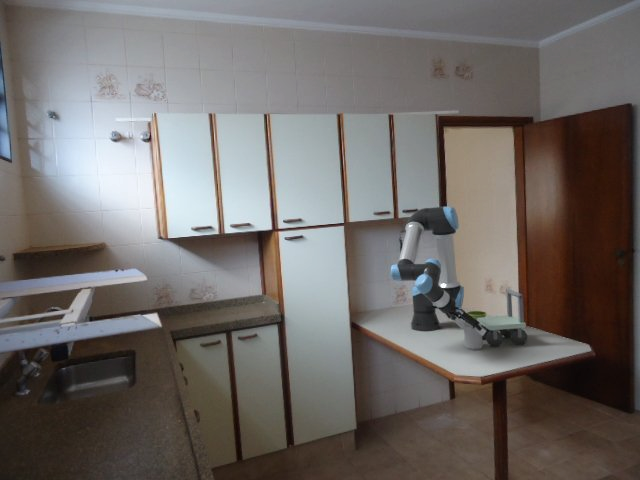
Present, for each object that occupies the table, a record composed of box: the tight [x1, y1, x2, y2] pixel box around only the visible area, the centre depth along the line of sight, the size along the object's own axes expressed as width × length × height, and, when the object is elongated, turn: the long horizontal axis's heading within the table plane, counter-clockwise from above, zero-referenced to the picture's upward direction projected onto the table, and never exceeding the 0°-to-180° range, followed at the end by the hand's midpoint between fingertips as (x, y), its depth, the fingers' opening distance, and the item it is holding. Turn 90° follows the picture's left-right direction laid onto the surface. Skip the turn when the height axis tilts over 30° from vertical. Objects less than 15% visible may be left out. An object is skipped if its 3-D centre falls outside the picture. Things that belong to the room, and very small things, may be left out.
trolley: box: [477, 288, 528, 348], centre depth 212 cm, size 16×18×23 cm
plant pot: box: [466, 310, 487, 320], centre depth 235 cm, size 9×9×9 cm
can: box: [463, 321, 483, 351], centre depth 206 cm, size 8×8×12 cm
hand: (474, 330), depth 206 cm, fingers open, 13 cm apart
